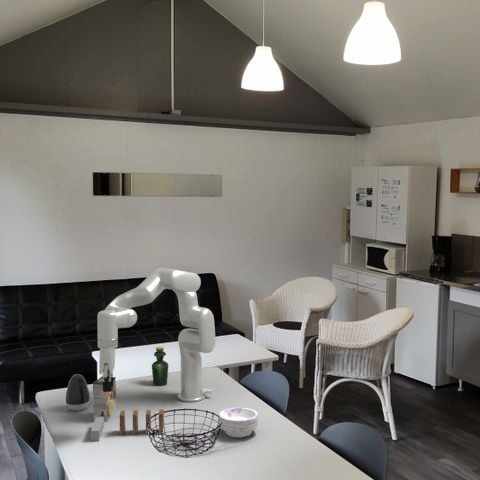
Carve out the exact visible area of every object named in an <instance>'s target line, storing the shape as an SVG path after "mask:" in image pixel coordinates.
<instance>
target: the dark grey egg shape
mask: <svg viewBox="0 0 480 480" xmlns="http://www.w3.org/2000/svg"><path fill="white" fill-rule="evenodd" d="M90 395H91V394H90V391H89V386H88V383H87V381H86V379H85V377H84V376H83V374H80V373H79V374H78V373H76V374H73V375H72V376H71V378H70V380H69V381H68V385H67V388H66V392H65V398H64V399H65V403H66V406H67V408H68V409H69V410H71V411H73V412H77V411H83V410H85V409H86V408H87V407H88V405H89V403H90V400H91V396H90Z"/></svg>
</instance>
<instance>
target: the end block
mask: <svg viewBox="0 0 480 480" xmlns="http://www.w3.org/2000/svg"><path fill="white" fill-rule="evenodd" d="M93 421H94V420H93ZM104 428H105V421H104V417H96V419H95V421H94V422H93V424H92V426H91V430H90V442H99V441H100V439H101V436H102V434H103V430H104Z"/></svg>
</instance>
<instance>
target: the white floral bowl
mask: <svg viewBox="0 0 480 480" xmlns="http://www.w3.org/2000/svg"><path fill="white" fill-rule="evenodd" d="M220 423H222V424H221V427H219V428H220V429H221V430H223V431H224V433H225V434H226V435H227V436H229V437H231V438H237V439H238V438H245V437H248V436H251V434H252V433H253V431H255V430H257V428H258V426H259V414H258V411H256V410H255V409H252V408H249V407H248V408H247V407H230V408H225V409H223V410H221V411H220V412H219V414H218V425H219V424H220Z"/></svg>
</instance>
